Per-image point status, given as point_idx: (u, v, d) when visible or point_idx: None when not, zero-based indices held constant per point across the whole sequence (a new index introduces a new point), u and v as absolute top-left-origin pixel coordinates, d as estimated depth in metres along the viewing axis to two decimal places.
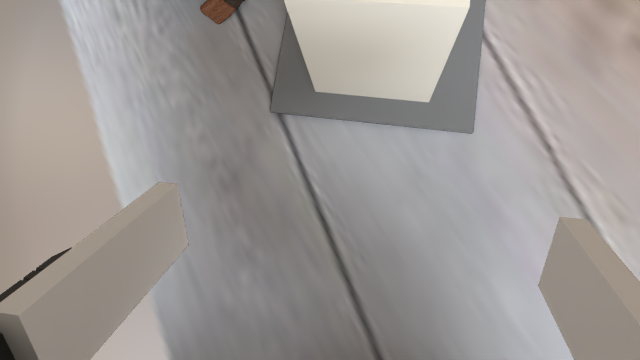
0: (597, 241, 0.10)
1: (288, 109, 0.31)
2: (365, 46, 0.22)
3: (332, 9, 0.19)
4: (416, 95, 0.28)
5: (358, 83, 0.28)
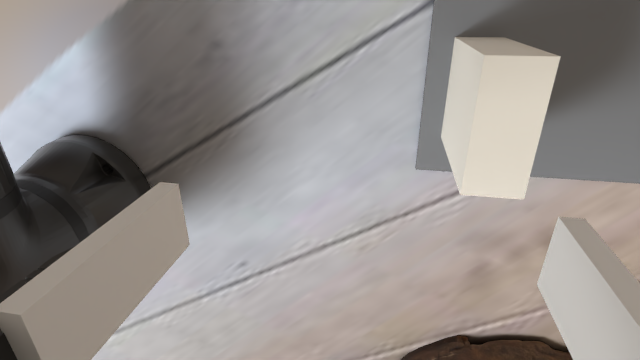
0: (596, 240, 0.10)
1: (436, 11, 0.32)
2: (461, 107, 0.27)
3: (474, 94, 0.23)
4: (443, 130, 0.35)
5: (452, 85, 0.32)
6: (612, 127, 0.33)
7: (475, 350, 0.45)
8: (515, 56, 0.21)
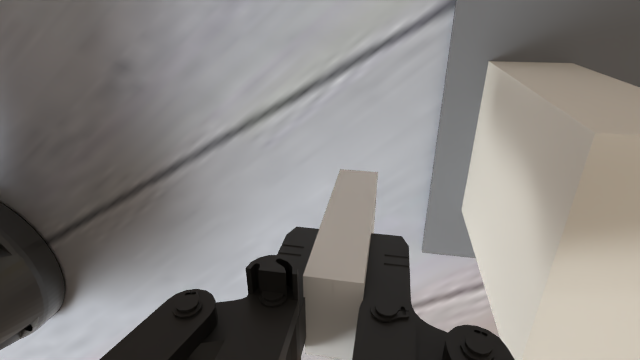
0: (370, 185, 0.14)
1: (459, 20, 0.19)
2: (511, 199, 0.15)
3: (556, 205, 0.11)
4: (466, 203, 0.22)
5: (485, 141, 0.19)
6: None
7: None
8: None
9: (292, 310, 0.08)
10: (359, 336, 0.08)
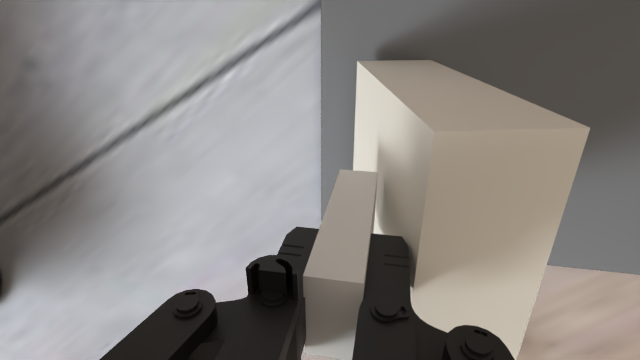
0: (370, 185, 0.14)
1: (325, 19, 0.20)
2: (384, 198, 0.15)
3: (414, 203, 0.11)
4: None
5: (362, 140, 0.19)
6: (599, 195, 0.22)
7: None
8: (499, 131, 0.09)
9: (293, 310, 0.08)
10: (359, 336, 0.08)
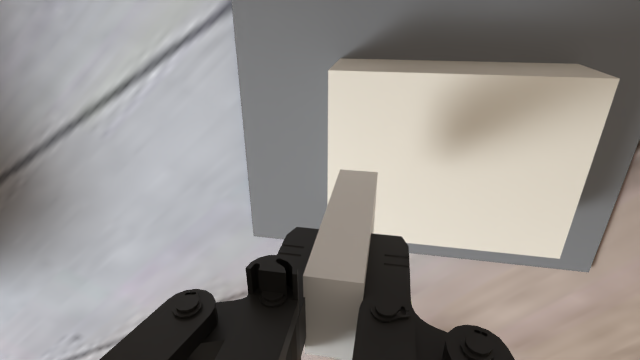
0: (370, 185, 0.14)
1: (237, 19, 0.21)
2: (489, 164, 0.18)
3: (580, 134, 0.16)
4: None
5: (377, 147, 0.18)
6: None
7: None
8: (599, 72, 0.17)
9: (292, 310, 0.08)
10: (359, 336, 0.08)
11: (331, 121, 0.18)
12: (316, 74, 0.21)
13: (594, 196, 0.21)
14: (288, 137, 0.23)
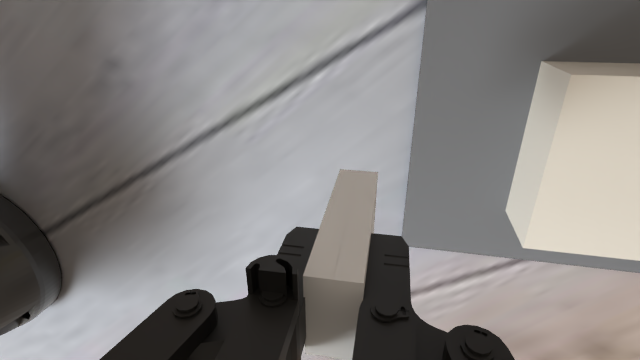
0: (370, 185, 0.14)
1: (430, 19, 0.20)
2: None
3: None
4: (550, 233, 0.19)
5: (608, 156, 0.17)
6: None
7: None
8: None
9: (293, 310, 0.08)
10: (359, 336, 0.08)
11: (560, 129, 0.17)
12: (509, 78, 0.20)
13: None
14: (462, 143, 0.22)
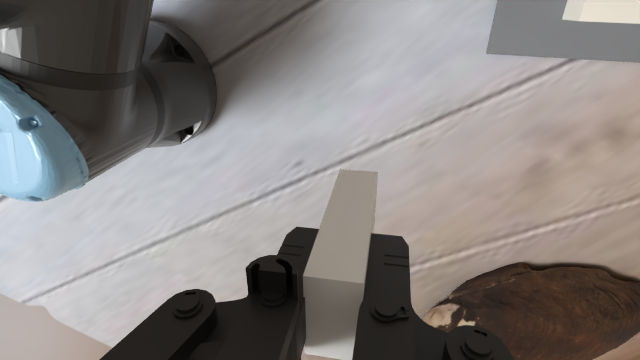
0: (370, 185, 0.14)
1: None
2: None
3: None
4: (596, 8, 0.32)
5: None
6: None
7: (536, 275, 0.47)
8: None
9: (292, 310, 0.08)
10: (359, 336, 0.08)
11: None
12: None
13: None
14: None
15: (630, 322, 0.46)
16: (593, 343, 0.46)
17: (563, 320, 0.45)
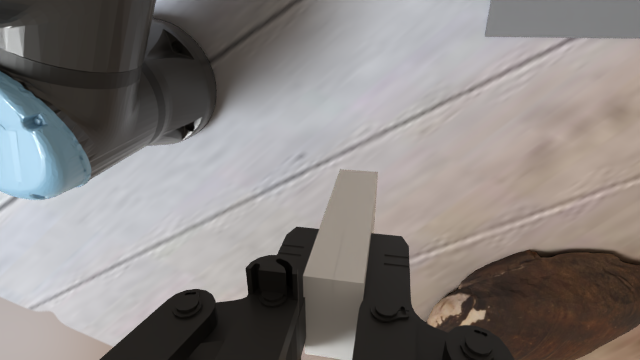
0: (370, 185, 0.14)
1: None
2: None
3: None
4: None
5: None
6: None
7: (546, 262, 0.47)
8: None
9: (293, 310, 0.08)
10: (359, 336, 0.08)
11: None
12: None
13: None
14: None
15: None
16: (605, 328, 0.46)
17: (573, 306, 0.45)
